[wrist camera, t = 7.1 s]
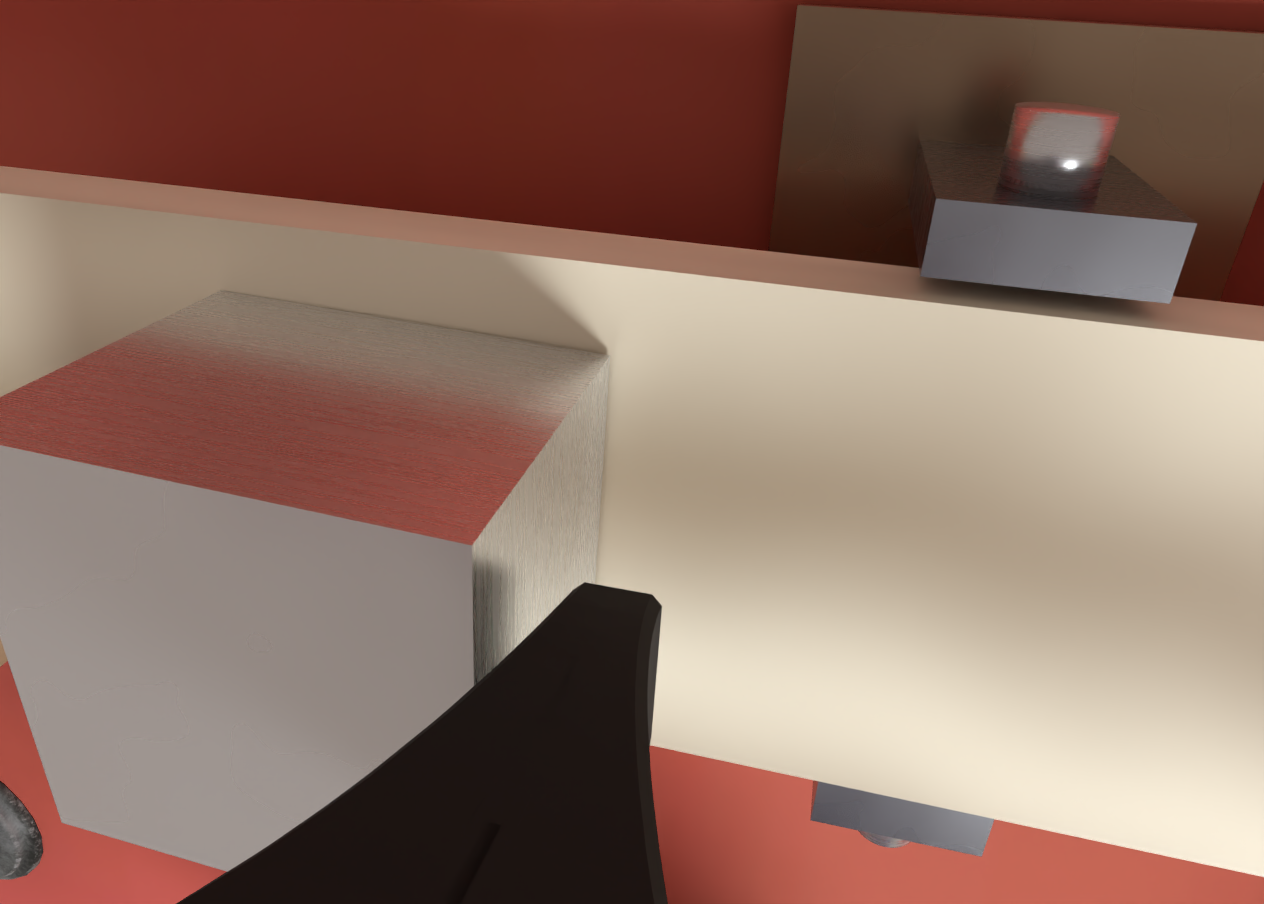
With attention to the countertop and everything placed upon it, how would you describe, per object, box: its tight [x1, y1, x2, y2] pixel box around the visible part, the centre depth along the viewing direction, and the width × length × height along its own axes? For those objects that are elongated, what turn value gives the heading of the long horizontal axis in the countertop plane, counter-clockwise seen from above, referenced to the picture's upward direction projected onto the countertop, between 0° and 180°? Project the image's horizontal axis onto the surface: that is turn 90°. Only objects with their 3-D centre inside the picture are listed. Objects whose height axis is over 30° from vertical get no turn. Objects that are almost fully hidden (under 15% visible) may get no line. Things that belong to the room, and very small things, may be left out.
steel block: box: [0, 290, 610, 872], centre depth 10 cm, size 5×5×4 cm
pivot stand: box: [768, 4, 1264, 857], centre depth 13 cm, size 12×6×4 cm, turn 178°
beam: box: [0, 166, 1264, 877], centre depth 11 cm, size 7×32×3 cm, turn 88°
